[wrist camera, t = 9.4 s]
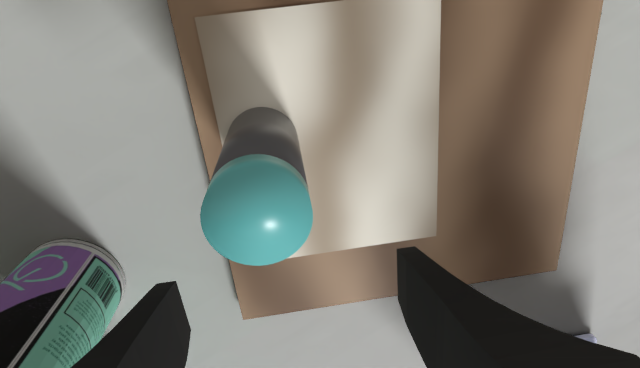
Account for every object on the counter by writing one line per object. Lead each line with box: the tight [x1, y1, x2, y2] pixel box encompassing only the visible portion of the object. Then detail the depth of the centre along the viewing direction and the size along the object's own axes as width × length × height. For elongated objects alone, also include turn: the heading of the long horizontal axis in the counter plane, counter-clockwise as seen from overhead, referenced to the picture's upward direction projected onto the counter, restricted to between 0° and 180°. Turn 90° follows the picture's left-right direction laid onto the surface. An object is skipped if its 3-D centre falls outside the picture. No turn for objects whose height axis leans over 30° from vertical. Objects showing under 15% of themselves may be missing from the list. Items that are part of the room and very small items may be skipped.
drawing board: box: [167, 0, 603, 320], centre depth 22 cm, size 20×18×1 cm
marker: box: [200, 107, 313, 266], centre depth 16 cm, size 4×4×8 cm
